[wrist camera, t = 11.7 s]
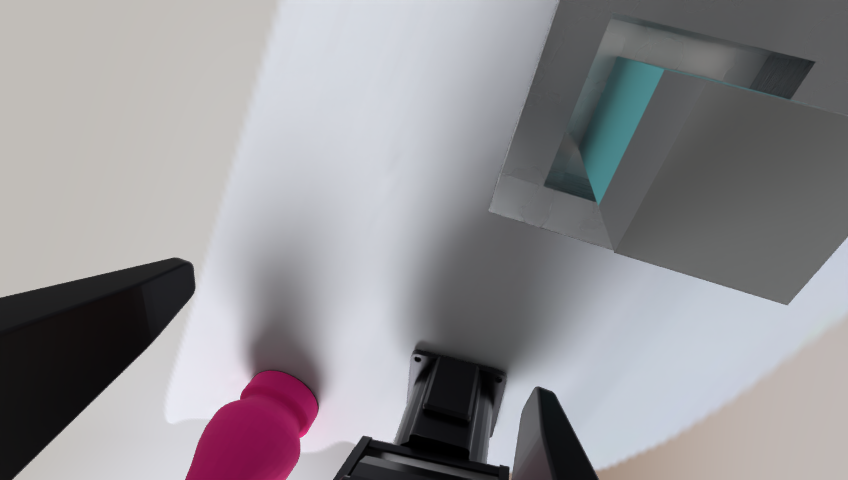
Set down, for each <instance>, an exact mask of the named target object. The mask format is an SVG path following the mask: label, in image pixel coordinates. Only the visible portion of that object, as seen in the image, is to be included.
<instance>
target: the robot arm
mask: <svg viewBox="0 0 848 480" xmlns="http://www.w3.org/2000/svg"><path fill="white" fill-rule="evenodd" d="M194 291H195V277H194V267H193V265H192V263H191V262H189V261H186V260H183V259H180V258H170V259H166V260H162V261H158V262H153V263H149V264H145V265H140V266H136V267H132V268H127V269H123V270H118V271H114V272H110V273H105V274H101V275H97V276H92V277H88V278H84V279H79V280H75V281H71V282H66V283H62V284H58V285H54V286H49V287H45V288H40V289H36V290H32V291H28V292H23V293H19V294H14V295H10V296H6V297H1V298H0V480H12V479H14V477H16V476H17V475H18V474H19V473H20V472H21V471H22V470H23V469H24V468H25V467H26V466H27V465H28V464H29V463H30V462H31V461H32V460H33V459H34V458H35V457H36V456H37V455H38V454H39V453H40V452H41V451H42V450H43V449H44V448H45V447H46V446H47V445H48V444H49V443H50V442H51V441H52V440H53V439H54V438H56V437H57V436H58V434H60V433H61V432H62V431H63V430H64V429H65V428H66V427H67V426H68V425H69V424H70V423H71V422H72V421H73V420H74V419H75V418H76V417H77V416H78V415H79V414H80V413H81V412H82V411H83V410H84V409H85V408H86V407H87V406H88V405H89V404H90V403H91V402H92V401H93V400H94V399H96V398H97V397H98V395H100V394H101V393H102V392H103V391H104V390H105V388H107V387H108V386H109V385H110V384H111V383H112V382H113V381H114V380H115V379H116V378H117V377H118V376H119V375H120V374H121V373H122V372H123V371H124V370H125V369H126V368H127V367H128V366H129V365H130V364H131V363H132V362H133V361H134V360H135V359H136V358H137V357H138V356H140V355H141V354H142V353H143V352H144V351H145V350H146V349H147V347H148V346H150V344H151V343H152V342H153V341H154V340H155V339H156V338H157V337H158V336H159V335H160V334H161V332H162V331H163V330H164V329H165V328H166V326H167V325H168V324H169V323H170V322H171V320H172V319H173V318H174V317H175V316H176V315H177V313H178V312H179V311H180V309H182V308H183V306H184V305H185V304H186V303H187V302H188V300H189V299H190V298H191V297H192V295H193V294H194ZM417 357H419V358H417ZM497 377H500V378H497ZM506 378H507V376H506V373H505V372H503V371H501V370H498V369H494V368H490V367H486V366H482V365H478V364H474V363H470V362H466V361H462V360H457V359H453V358H449V357H445V356H441V355H437V354H433V353H429V352H425V351H421V350H415V351H413V353H412V356H411V360H410V371H409V383H408V395H407V406H406V408H405V411H404V414H403V417H402V420H401V423H400V425H399V428H398V431H397V434H396V437H395V440H394V442H393V444H392V443H388V442H383V441H378V440H374V439H372V437H367V436H362V438H361V439H360V441H359V442H358V444H357V445H356V447H354V449H353V450H352V452H351V454H350V455H349V457H348V458H347V459H346V461H345V463H344V464H343V465H342V467H341V469H340V470H339V472H338V473H337V475H336V476H335V478H334V479H333V480H509V467H508V466H503V465H500V467H499V466H495V465H490V464H486V463H487V455H488V447H489V438H490V437H492V435H493V431H494V427H495V423H496V419H497V415H498V412H499V408H500V404H501V400H502V396H503V392H504V388H505V384H506ZM512 480H599V478H598V476H597V474H596V472H595V471H594V469H593V467H592V465H591V463H590V461H589V459H588V457H587V455H586V453H585V451H584V449H583V447H582V445H581V443H580V441H579V440H578V438H577V436H576V434H575V432H574V430H573V428H572V426H571V424H570V422H569V420H568V418H567V416H566V414H565V412H564V410H563V408H562V407H561V405H560V403H559V401H558V399H557V397H556V395H555V394H554V393H553V392H552V391H550V390H547V389H544V388H541V387H535V388H534V390H533V391H532V393H531V395H530V397H529V399H528V400H527V402H526V404H525V406H524V408H523V411H522V414H521V419H520V426H519V432H518V439H517V446H516V452H515V459H514V466H513V473H512Z"/></svg>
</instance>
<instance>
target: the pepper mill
mask: <svg viewBox="0 0 848 480" xmlns="http://www.w3.org/2000/svg"><path fill="white" fill-rule="evenodd" d="M317 413H318V406H317V402H316V399H315V397H314V395H313V394H312V392H311V391H310V390H309V389H308V388H307V387H306V386H305V385H304V384H303V383H302V382H301V381H299V380H298V379H296V378H295V377H293V376H291V375H288V374H286V373H283V372H279V371H264V372H260V373H258V374H257V375H256V376H255V377H254V378H253V379H252V380H251V381H250V383H249V384H248V385H247V386H246V387H245V389H244V390H243V391H242V393H241V396H240V400H237V401H234V402H231V403H228V404H226V405H224V406H223V407H222V408H220V409H219V410H218V411H217V412H216V414H215V415H214V416H213V418H212V419H211V420H210V422H209V423H208V425H207V426H206V428H205V430H204V432H203V434H202V436H201V438H200V440H199V442H198V445H197V448H196V451H195V454H194V458H193V461H192V464H191V466H190V469H189V472H188V474H187V476H186V479H185V480H286V478H287V477H288V476H289V474H290V473H291V471H292V470H293V468H294V466H295V465H296V463H297V462H298V459H299V456H300V438H301V437H303V436H304V435H305V434H306V433H307V432H308V430H309V428H310V427H311V425H312V423H313V421H314V420H315V418H316V416H317Z"/></svg>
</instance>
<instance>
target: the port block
mask: <svg viewBox="0 0 848 480" xmlns="http://www.w3.org/2000/svg"><path fill="white" fill-rule="evenodd" d="M618 56H620V57H624V58H628V59H632V60H636V61H640V62H644V63H649V64H653V65H657V66H661V67H665V68H669V69H673V70H677V71H681V72H685V73H689V74H693V75H697V76H701V77H705V78H709V79H713V80H718V81H721V82H725V83H729V84H733V85H737V86H740V87H744V88H748V89H752V90H756V91H759V92H763V93H767V94H771V95H775V96H778V97H782V98H786V99H790V100H793V101H797V102H801V103H805V104H809V105H812V106H816V107H820V108H824V109H828V110H831V111H835V112H839V113H843V114H847V115H848V0H558V1H557V4H556V7H555V10H554V13H553V16H552V19H551V22H550V25H549V28H548V31H547V34H546V37H545V40H544V43H543V46H542V49H541V52H540V55H539V58H538V61H537V64H536V67H535V70H534V73H533V76H532V79H531V82H530V85H529V88H528V91H527V94H526V97H525V100H524V102H523V105H522V108H521V111H520V114H519V117H518V120H517V123H516V126H515V129H514V132H513V135H512V138H511V141H510V144H509V147H508V150H507V153H506V156H505V159H504V162H503V165H502V168H501V171H500V174H499V177H498V180H497V183H496V186H495V190H494V193H493V197H492V201H491V204H490V208H489V212H492V213H495V214H498V215H502V216H505V217H508V218H511V219H514V220H518V221H521V222H524V223H527V224H531V225H534V226H537V227H540V228H543V229H547V230H550V231H553V232H556V233H560V234H563V235H566V236H569V237H572V238H576V239H579V240H582V241H585V242H588V243H592V244H595V245H598V246H601V247H605V248H608V249H611V250H613V247H612V244H611V241H610V239H609V236H608V233H607V230H606V227H605V224H604V221H603V218H602V215H601V213H600V210H599V207H598V204H597V201H596V198H595V195H594V192H593V189H592V187H591V184H590V181H589V178H588V175H587V172H586V169H585V166H584V163H583V161H582V158H581V155H580V152H579V147H580V144H581V142H582V140H583V137H584V135H585V133H586V130H587V128H588V125H589V123H590V121H591V118H592V116H593V114H594V111H595V109H596V106H597V104H598V102H599V99H600V97H601V95H602V92H603V90H604V87H605V85H606V83H607V80H608V78H609V76H610V73H611V71H612V68H613V66H614V64H615V61H616V59H617V57H618Z"/></svg>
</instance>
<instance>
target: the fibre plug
mask: <svg viewBox="0 0 848 480" xmlns="http://www.w3.org/2000/svg"><path fill="white" fill-rule="evenodd" d="M579 152H580V155H581V158H582V161H583V163H584V166H585V169H586V172H587V175H588V178H589V181H590V184H591V187H592V189H593V192H594V195H595V198H596V201H597V204H598V207H599V210H600V213H601V215H602V218H603V221H604V224H605V227H606V230H607V233H608V236H609V239H610V241H611V244H612V247H613V250H614V253H617V254H621V255H624V256H627V257H631V258H634V259H637V260H640V261H644V262H647V263H650V264H654V265H657V266H660V267H663V268H667V269H670V270H673V271H676V272H680V273H683V274H686V275H690V276H693V277H696V278H699V279H703V280H706V281H709V282H713V283H716V284H719V285H722V286H726V287H729V288H732V289H736V290H739V291H742V292H745V293H749V294H752V295H755V296H759V297H762V298H765V299H768V300H772V301H775V302H778V303H782V304H785V305H788V304H789V303H790V302H791V301H792V299H793V298H794V297H795V296H796V295H797V294H798V293H799V291H800V290H801V289H802V288H803V287H804V286H805V285H806V284H807V282H808V281H809V280H810V279H811V278H812V277H813V276H814V274H815V273H816V272H817V271H818V270H819V269H820V268H821V267H822V265H823V264H824V263H825V262H826V261H827V260H828V259H829V257H830V256H831V255H832V254H833V253H834V252H835V251H836V249H837V248H838V247H839V246H840V245H841V244H842V243H843V242H844V240H845V239H846V238H847V237H848V115H847V114H843V113H839V112H835V111H831V110H828V109H824V108H820V107H816V106H812V105H809V104H805V103H801V102H797V101H793V100H790V99H786V98H782V97H778V96H775V95H771V94H767V93H763V92H759V91H756V90H752V89H748V88H744V87H740V86H737V85H733V84H729V83H725V82H721V81H718V80H713V79H709V78H705V77H701V76H697V75H693V74H689V73H685V72H681V71H677V70H673V69H669V68H665V67H661V66H657V65H653V64H649V63H644V62H640V61H636V60H632V59H628V58H624V57H620V56H618V57H617V59H616V61H615V64H614V66H613V68H612V71H611V73H610V76H609V78H608V80H607V83H606V85H605V87H604V90H603V92H602V95H601V97H600V99H599V102H598V104H597V106H596V109H595V111H594V114H593V116H592V118H591V121H590V123H589V125H588V128H587V130H586V133H585V135H584V137H583V140H582V142H581V144H580V147H579Z"/></svg>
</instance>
